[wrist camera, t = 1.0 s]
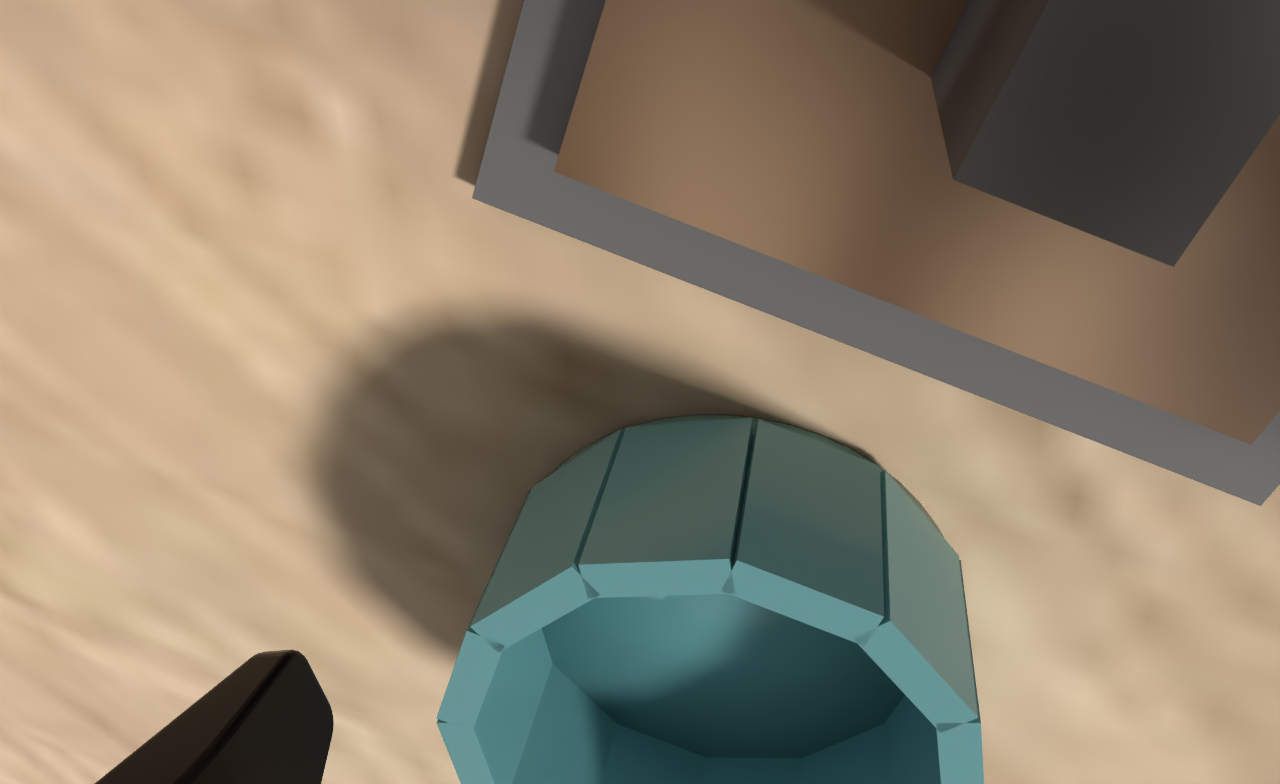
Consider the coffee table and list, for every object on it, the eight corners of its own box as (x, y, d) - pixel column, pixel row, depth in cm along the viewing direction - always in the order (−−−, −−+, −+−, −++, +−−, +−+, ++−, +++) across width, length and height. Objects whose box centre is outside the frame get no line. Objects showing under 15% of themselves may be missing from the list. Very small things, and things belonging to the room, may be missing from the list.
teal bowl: (1054, 525, 23) (1097, 698, 19) (842, 811, 29) (839, 992, 25) (582, 342, 23) (519, 476, 19) (466, 669, 29) (398, 827, 24)
